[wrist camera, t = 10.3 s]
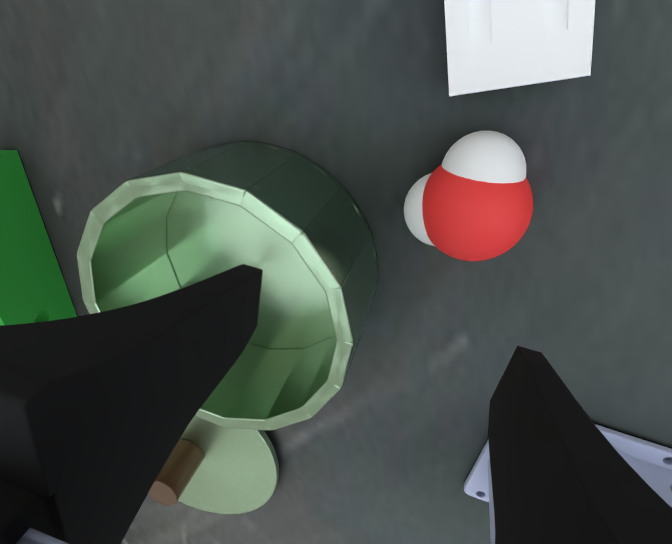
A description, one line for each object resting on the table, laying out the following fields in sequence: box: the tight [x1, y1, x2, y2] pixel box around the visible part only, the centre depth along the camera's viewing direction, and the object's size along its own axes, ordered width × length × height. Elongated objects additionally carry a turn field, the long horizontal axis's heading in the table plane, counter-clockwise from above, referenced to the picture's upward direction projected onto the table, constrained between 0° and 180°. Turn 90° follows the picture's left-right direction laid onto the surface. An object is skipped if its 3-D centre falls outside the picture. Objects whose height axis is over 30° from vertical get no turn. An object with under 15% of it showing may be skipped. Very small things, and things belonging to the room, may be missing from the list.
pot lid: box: [148, 416, 279, 514], centre depth 30 cm, size 13×13×4 cm
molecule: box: [404, 131, 533, 261], centre depth 17 cm, size 5×5×4 cm
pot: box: [77, 141, 378, 431], centre depth 21 cm, size 12×12×6 cm
